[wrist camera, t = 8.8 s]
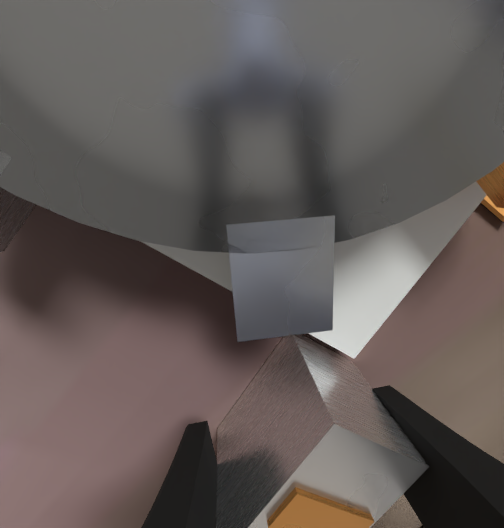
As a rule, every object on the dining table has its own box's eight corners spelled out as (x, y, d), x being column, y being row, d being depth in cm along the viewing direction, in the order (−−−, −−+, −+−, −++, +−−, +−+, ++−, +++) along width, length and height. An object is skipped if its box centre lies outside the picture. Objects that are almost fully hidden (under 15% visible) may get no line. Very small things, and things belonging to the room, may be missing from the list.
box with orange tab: (353, 362, 10) (433, 473, 6) (280, 453, 11) (311, 598, 7) (289, 328, 10) (337, 430, 6) (217, 428, 11) (215, 574, 7)
